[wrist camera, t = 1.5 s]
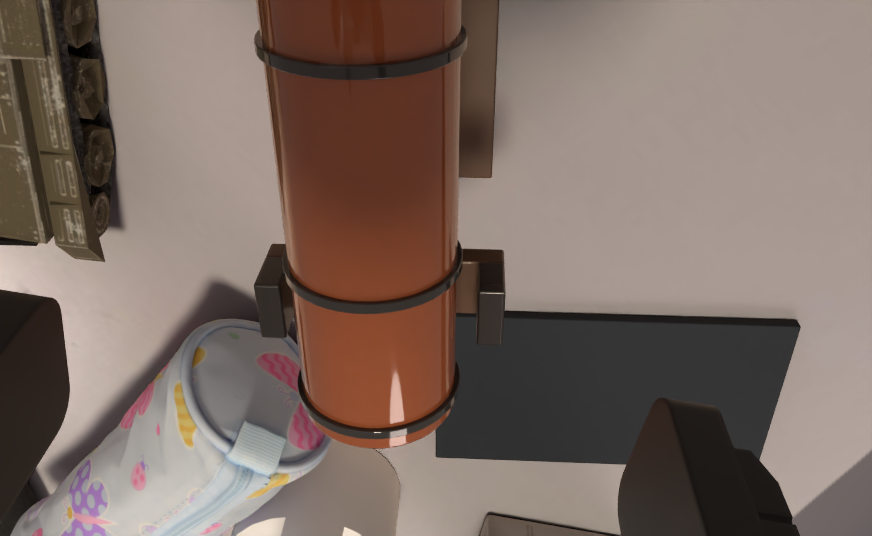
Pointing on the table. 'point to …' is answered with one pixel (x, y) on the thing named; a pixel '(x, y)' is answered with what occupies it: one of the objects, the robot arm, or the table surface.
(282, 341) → the pencil case
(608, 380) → the rubber mat
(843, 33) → the table surface
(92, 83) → the toy tank
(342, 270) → the banded orange roll
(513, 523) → the coffee box
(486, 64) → the cradle rack
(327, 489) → the base with upright slab
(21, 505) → the strap-wrapped black tube
